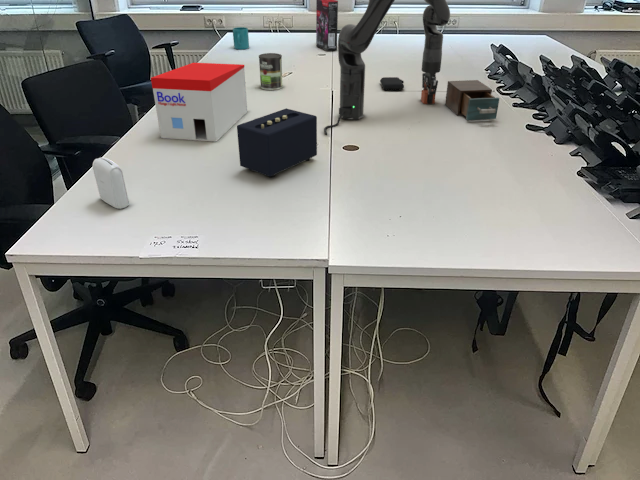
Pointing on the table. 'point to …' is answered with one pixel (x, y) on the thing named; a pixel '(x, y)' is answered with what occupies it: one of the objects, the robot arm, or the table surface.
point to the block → (424, 97)
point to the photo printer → (110, 182)
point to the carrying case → (392, 83)
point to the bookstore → (199, 100)
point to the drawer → (479, 105)
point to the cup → (240, 38)
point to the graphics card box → (326, 24)
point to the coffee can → (270, 71)
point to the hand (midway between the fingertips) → (427, 101)
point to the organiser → (461, 87)
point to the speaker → (277, 141)
